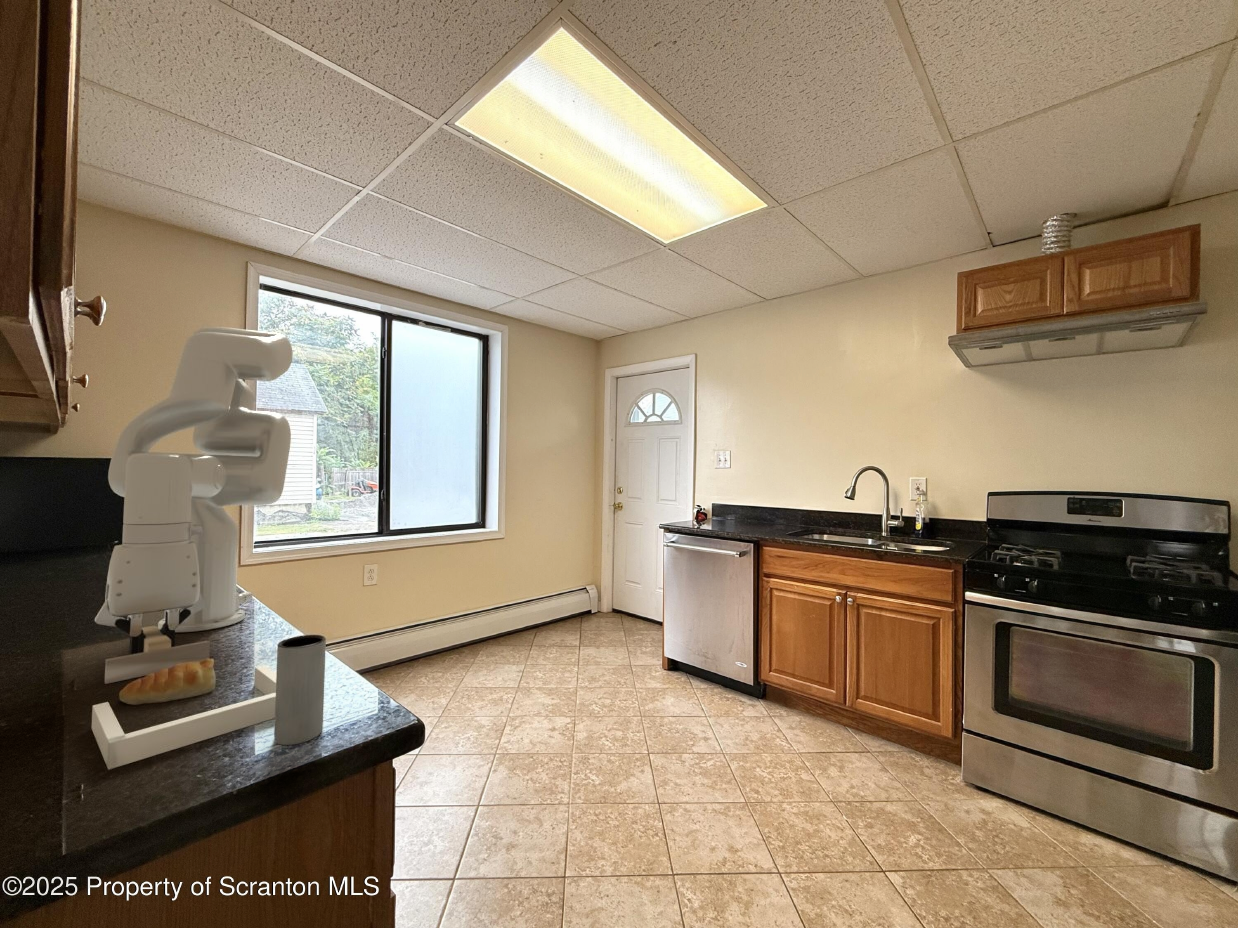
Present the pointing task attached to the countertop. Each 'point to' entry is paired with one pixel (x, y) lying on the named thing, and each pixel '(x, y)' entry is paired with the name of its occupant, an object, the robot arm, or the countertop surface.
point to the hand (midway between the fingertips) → (151, 657)
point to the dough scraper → (154, 657)
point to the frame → (181, 725)
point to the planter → (299, 689)
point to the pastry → (171, 683)
